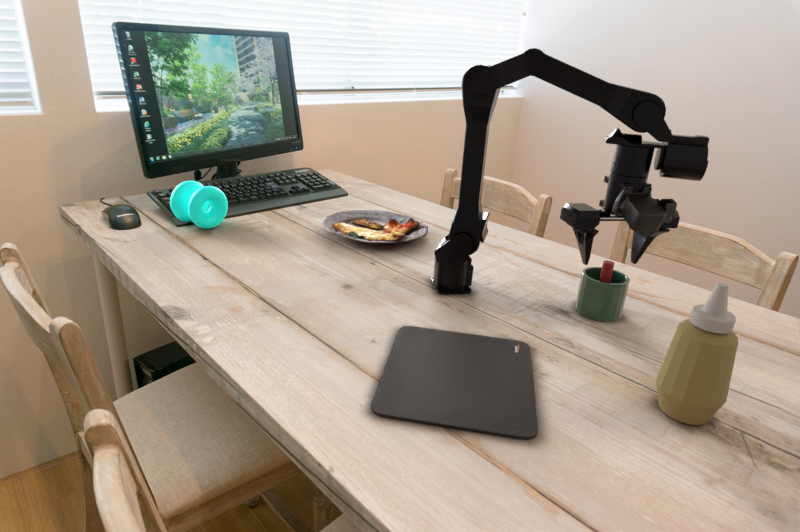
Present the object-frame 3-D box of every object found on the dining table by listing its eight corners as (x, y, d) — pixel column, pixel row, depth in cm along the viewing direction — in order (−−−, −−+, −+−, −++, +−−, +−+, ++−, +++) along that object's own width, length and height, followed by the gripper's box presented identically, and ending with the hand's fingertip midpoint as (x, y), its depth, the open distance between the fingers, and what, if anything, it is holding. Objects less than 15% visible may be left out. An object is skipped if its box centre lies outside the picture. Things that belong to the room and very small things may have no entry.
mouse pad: (538, 441, 61) (539, 439, 61) (367, 414, 64) (367, 412, 64) (529, 343, 82) (529, 341, 82) (400, 326, 85) (400, 324, 85)
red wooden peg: (596, 311, 93) (607, 264, 90) (591, 306, 95) (601, 260, 92) (605, 311, 94) (616, 264, 90) (600, 306, 95) (610, 260, 92)
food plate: (444, 232, 130) (445, 219, 129) (392, 259, 112) (393, 243, 110) (362, 212, 142) (362, 200, 141) (303, 233, 124) (303, 219, 123)
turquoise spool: (206, 215, 133) (202, 176, 129) (231, 224, 128) (229, 184, 124) (169, 224, 125) (165, 182, 122) (195, 234, 120) (191, 191, 116)
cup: (589, 322, 90) (597, 285, 88) (567, 302, 97) (574, 267, 95) (630, 320, 92) (639, 284, 89) (605, 301, 99) (613, 266, 96)
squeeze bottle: (637, 392, 72) (670, 270, 65) (693, 392, 72) (732, 271, 66) (670, 432, 64) (712, 299, 57) (732, 432, 65) (780, 300, 58)
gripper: (603, 185, 76) (583, 284, 82) (715, 186, 80) (688, 281, 85) (566, 168, 86) (551, 258, 92) (668, 170, 90) (647, 256, 96)
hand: (609, 263), depth 91 cm, fingers open, 9 cm apart
